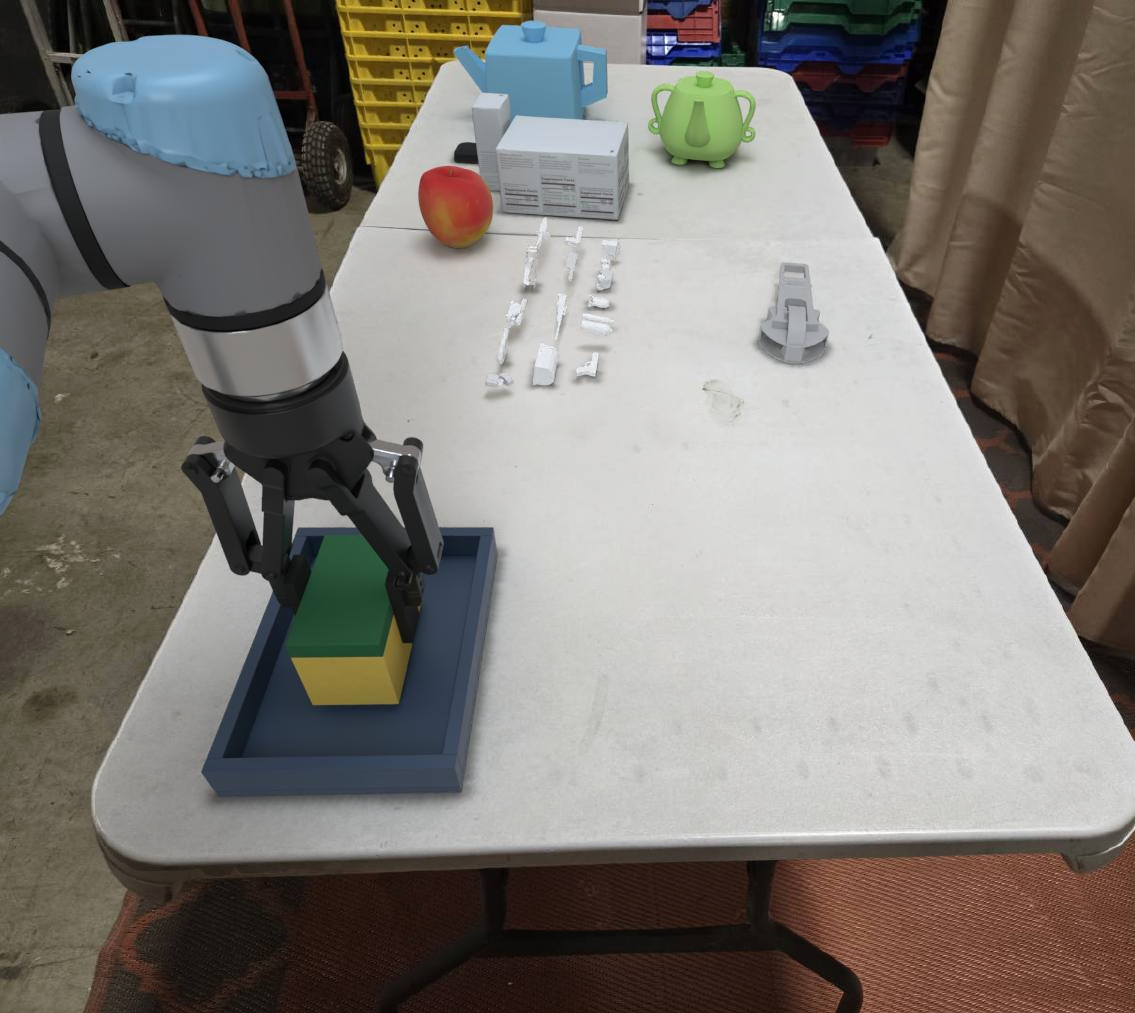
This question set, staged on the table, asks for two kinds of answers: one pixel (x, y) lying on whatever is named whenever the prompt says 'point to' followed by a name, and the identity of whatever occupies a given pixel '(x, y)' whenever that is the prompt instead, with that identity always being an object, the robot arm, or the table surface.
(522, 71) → the container
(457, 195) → the apple
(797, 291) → the zipper pull
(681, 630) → the table surface
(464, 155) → the remote control
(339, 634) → the sponge
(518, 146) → the supplement box
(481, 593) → the tray
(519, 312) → the miniature set
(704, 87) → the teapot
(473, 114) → the cosmetic box
